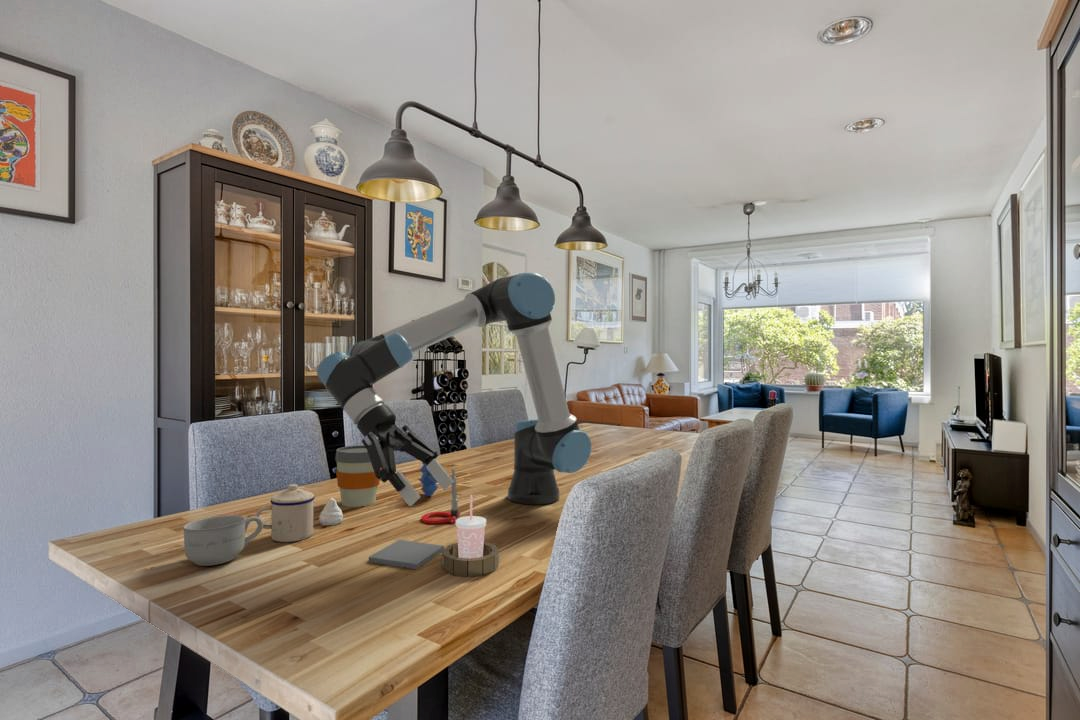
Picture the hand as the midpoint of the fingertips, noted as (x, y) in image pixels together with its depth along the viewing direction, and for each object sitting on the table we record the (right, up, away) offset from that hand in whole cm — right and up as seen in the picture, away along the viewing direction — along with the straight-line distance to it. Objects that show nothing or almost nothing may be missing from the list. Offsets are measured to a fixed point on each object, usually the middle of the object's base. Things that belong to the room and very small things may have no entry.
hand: (433, 493), depth 111 cm
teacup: (-42, -13, 0) cm, 44 cm away
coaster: (-6, -14, +3) cm, 15 cm away
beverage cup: (+8, -14, -2) cm, 16 cm away
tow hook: (-4, -14, +28) cm, 32 cm away
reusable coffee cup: (-29, -13, +42) cm, 53 cm away
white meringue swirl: (-30, -13, +24) cm, 40 cm away
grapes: (-10, -13, +51) cm, 53 cm away
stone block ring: (+8, -14, -2) cm, 16 cm away
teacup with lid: (-36, -13, +13) cm, 40 cm away
